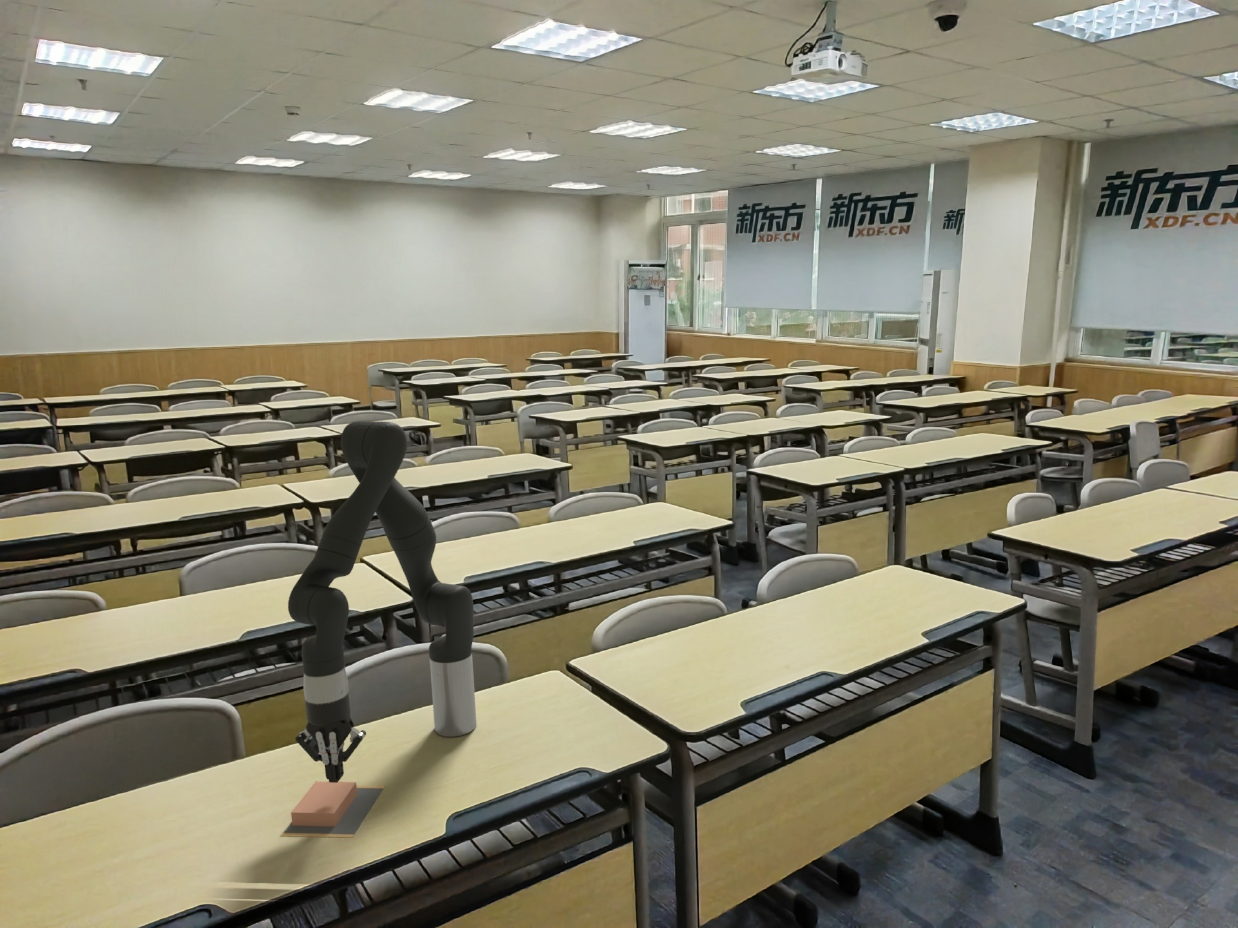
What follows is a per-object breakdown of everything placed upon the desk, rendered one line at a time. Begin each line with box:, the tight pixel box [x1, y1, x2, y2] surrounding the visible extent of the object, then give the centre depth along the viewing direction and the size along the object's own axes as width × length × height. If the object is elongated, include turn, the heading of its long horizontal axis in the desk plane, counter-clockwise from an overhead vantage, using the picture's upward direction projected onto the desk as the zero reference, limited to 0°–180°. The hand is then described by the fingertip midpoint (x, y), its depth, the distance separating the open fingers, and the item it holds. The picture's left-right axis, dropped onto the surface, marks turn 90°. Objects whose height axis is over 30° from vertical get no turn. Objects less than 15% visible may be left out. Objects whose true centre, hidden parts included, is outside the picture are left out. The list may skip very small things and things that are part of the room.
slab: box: [290, 781, 358, 827], centre depth 151 cm, size 10×3×8 cm
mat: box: [280, 785, 386, 839], centre depth 151 cm, size 16×13×1 cm
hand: (335, 780), depth 150 cm, fingers closed
